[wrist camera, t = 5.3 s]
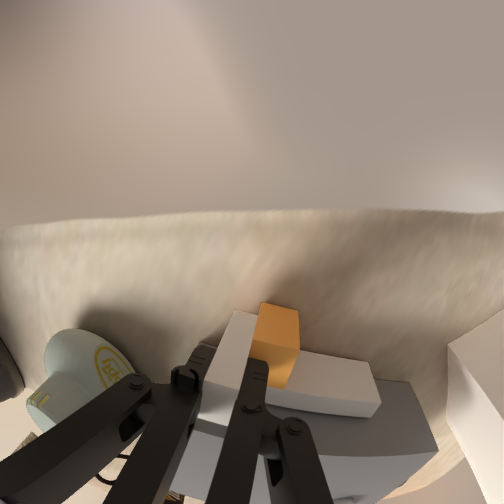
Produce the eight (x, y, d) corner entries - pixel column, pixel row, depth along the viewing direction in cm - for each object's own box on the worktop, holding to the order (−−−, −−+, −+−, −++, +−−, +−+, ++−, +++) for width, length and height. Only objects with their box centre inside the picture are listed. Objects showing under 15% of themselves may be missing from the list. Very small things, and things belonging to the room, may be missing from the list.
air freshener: (165, 404, 22) (123, 481, 13) (111, 404, 24) (68, 463, 15) (106, 308, 20) (27, 373, 11) (58, 324, 22) (-5, 372, 12)
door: (247, 354, 19) (236, 396, 15) (261, 301, 18) (252, 339, 13) (359, 376, 18) (370, 417, 14) (384, 329, 17) (404, 367, 13)
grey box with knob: (188, 428, 23) (159, 494, 15) (199, 339, 20) (152, 425, 11) (366, 457, 22) (375, 518, 13) (427, 381, 18) (461, 453, 10)
